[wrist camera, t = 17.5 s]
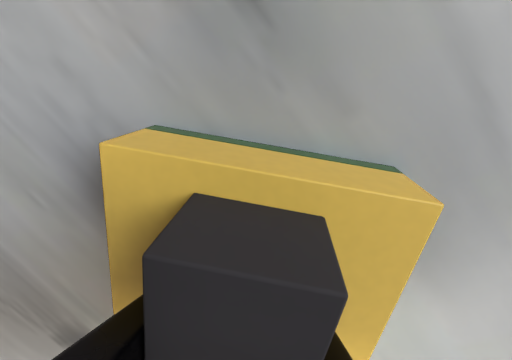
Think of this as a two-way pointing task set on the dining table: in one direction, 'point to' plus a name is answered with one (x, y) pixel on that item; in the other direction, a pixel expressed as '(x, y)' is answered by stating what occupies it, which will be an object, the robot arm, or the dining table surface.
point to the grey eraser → (241, 284)
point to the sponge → (273, 195)
